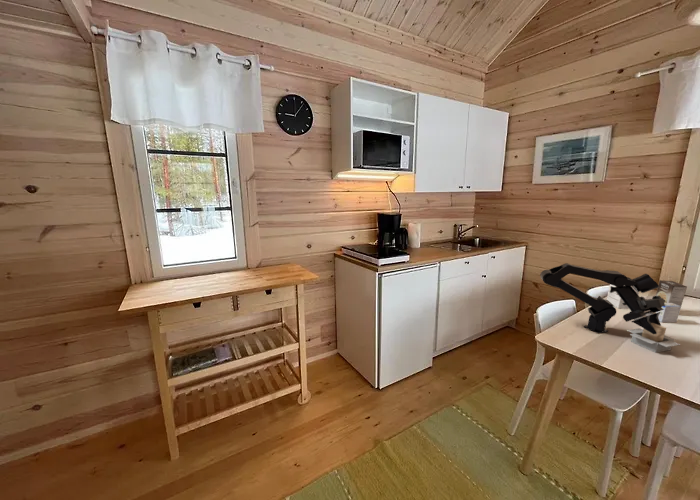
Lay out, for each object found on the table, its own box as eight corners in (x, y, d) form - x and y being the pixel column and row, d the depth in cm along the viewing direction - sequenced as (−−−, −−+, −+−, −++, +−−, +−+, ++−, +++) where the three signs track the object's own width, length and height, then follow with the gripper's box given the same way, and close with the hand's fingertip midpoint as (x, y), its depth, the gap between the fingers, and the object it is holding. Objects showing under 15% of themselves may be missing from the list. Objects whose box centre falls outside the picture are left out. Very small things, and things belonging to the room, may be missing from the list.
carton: (658, 356, 113) (661, 347, 112) (619, 339, 126) (621, 330, 125) (682, 352, 116) (685, 343, 115) (642, 335, 129) (644, 327, 128)
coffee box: (651, 307, 161) (658, 279, 158) (665, 308, 160) (672, 280, 156) (665, 314, 152) (673, 285, 149) (679, 315, 151) (688, 286, 148)
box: (652, 349, 118) (658, 328, 116) (639, 343, 122) (645, 323, 121) (660, 347, 119) (666, 327, 117) (647, 342, 124) (652, 322, 122)
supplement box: (622, 303, 167) (628, 278, 163) (635, 309, 158) (642, 283, 155) (605, 302, 167) (610, 277, 164) (617, 308, 159) (623, 282, 156)
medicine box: (666, 318, 147) (671, 302, 145) (676, 322, 143) (681, 306, 141) (652, 318, 147) (656, 302, 145) (661, 322, 143) (665, 306, 141)
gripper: (639, 292, 116) (670, 330, 108) (661, 286, 123) (692, 321, 116) (611, 303, 124) (638, 339, 117) (634, 297, 132) (661, 331, 124)
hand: (658, 332), depth 118 cm, fingers closed on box, 5 cm apart
